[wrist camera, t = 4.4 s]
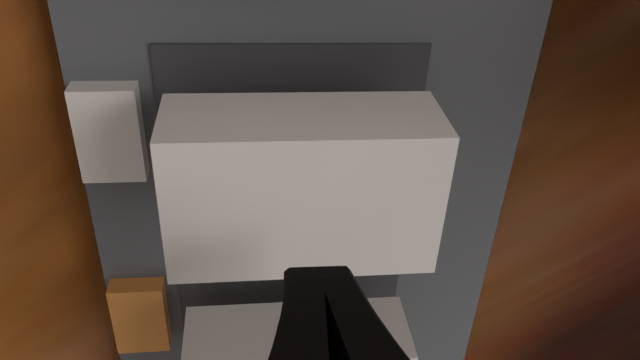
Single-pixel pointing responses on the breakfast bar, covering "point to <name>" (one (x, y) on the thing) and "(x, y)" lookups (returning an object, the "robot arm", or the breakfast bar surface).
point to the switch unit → (291, 76)
